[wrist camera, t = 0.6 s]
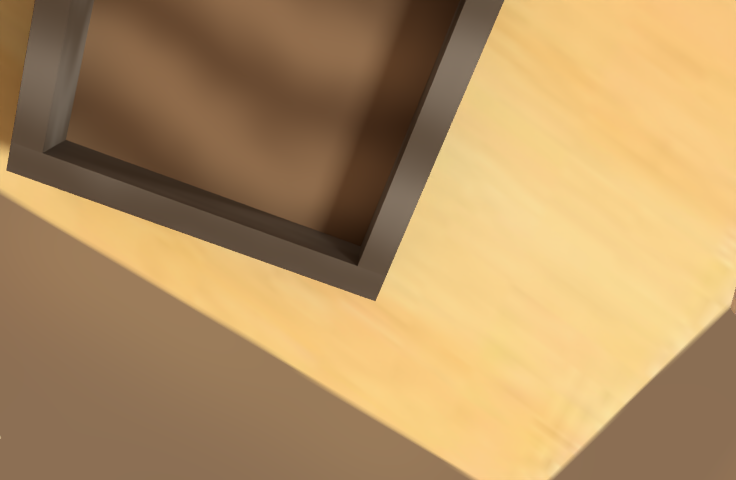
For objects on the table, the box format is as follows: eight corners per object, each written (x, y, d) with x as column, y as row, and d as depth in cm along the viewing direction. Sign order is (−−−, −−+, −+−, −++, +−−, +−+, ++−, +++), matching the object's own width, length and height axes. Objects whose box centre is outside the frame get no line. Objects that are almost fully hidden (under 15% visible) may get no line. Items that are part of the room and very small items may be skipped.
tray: (108, -203, 30) (72, -222, 27) (508, -39, 32) (520, -37, 29) (41, 150, 37) (6, 170, 33) (377, 271, 38) (375, 301, 35)
